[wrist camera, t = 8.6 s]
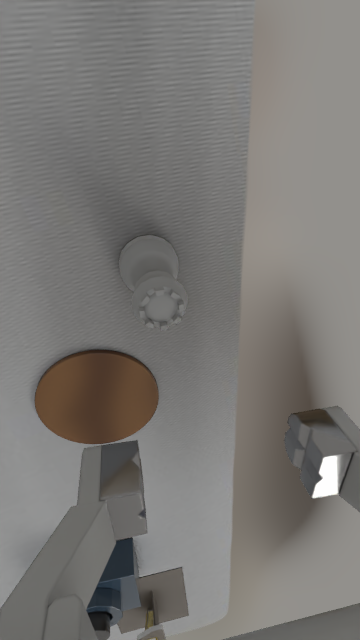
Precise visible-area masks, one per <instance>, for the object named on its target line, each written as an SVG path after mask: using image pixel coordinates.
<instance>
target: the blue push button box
mask: <svg viewBox="0 0 360 640" xmlns="http://www.w3.org/2000/svg"><path fill="white" fill-rule="evenodd" d="M137 607H141V595H140V579H139V569H138V563H137V558H136V553H135V548H134V543H133V538H130V539H125V540H120V541H116V545H115V547H114V549H113V551H112V553H111V556H110V558H109V560H108V562H107V564H106V567H105V569H104V571H103V573H102V575H101V578H100V580H99V582H98V584H97V586H96V589H95V591H94V593H93V595H92V598H91V600H90V602H89V604H88V606H87V609H86V611H87V613H90V612H95V611H106V612H108V613H110V627H111V626H113V625H115V624H117V623H118V622H119V621H120V619H121V618H122V617H123V611H125V610H129V609H133V608H137Z"/></svg>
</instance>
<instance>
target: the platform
mask: <svg viewBox="0 0 360 640" xmlns="http://www.w3.org/2000/svg"><path fill="white" fill-rule="evenodd" d="M139 579H140V595H141V607H137V608H133V609H129V610H125V611H123V617H122V618H121V619H120V621H119V622H118V623H117V624H118V626H119V629H120V631H121V633H126V632H129V631H133V630H137V629H140V628H144V627H145V631H144V632H142V633H141V634H139V635H138V636H137V640H149V639H153V638H156V640H166V637H165V633H164V629H163V625H162V624H159V623H163V622H166V621H170V620H174V619H178V618H181V617H185V616H189V614H188V607H187V600H186V593H185V586H184V579H183V572H182V568H178V569H174V570H170V571H166V572H162V573H158V574H154V575H150V576H146V577H142V578H139ZM149 627H150V628H149Z"/></svg>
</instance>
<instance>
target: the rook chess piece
mask: <svg viewBox="0 0 360 640" xmlns="http://www.w3.org/2000/svg"><path fill="white" fill-rule="evenodd" d="M118 264H119V269H120V275H121V278H122V280H123V281H124V283H125V284H126V286H127V287H128V288H129V289H130V290H132V291H133V292H134V293H133V297H132V301H131V305H132V311H133V314H134V315H135V316H136V318H137V319H138V321H140V322H141V323H143V324H145V325H146V326H147V327H149V328H151V329H153V327H155V328H160V331H163V330H168V329H169V327H168V326H170V325H172V324H173V323H175V324H176V325H177V324H178V323H179V322H180V321H181V320H182V316H183V315H184V313H185V311H186V308H187V305H188V298H187V293H186V291H185V289H184V287H183V286H182V285H181V284H180V283H179V282H177V281H176V279H177V276H178V273H179V261H178V258H177V254H176V252H175V250H174V248H173V247H172V245H171V244H170V243H168V242H167V241H166V240H164V239H163V238H161V237H157V236H153V235H146V236H139V237H137V238H135V239H133V240H132V241H130V242H128V243H127V245H126V246H125V247H124V249H123V250H122V252H121V254H120V259H119V263H118Z"/></svg>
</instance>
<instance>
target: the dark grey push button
mask: <svg viewBox="0 0 360 640" xmlns="http://www.w3.org/2000/svg"><path fill="white" fill-rule="evenodd" d="M87 614H88V616H89V618H90V621H91V623H92V626H93V628H94V631H95V633H96V635H97V638H98V640H107V639H108V638H109V636H110V613H108V612H106V611H95V612H90V613H87Z"/></svg>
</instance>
